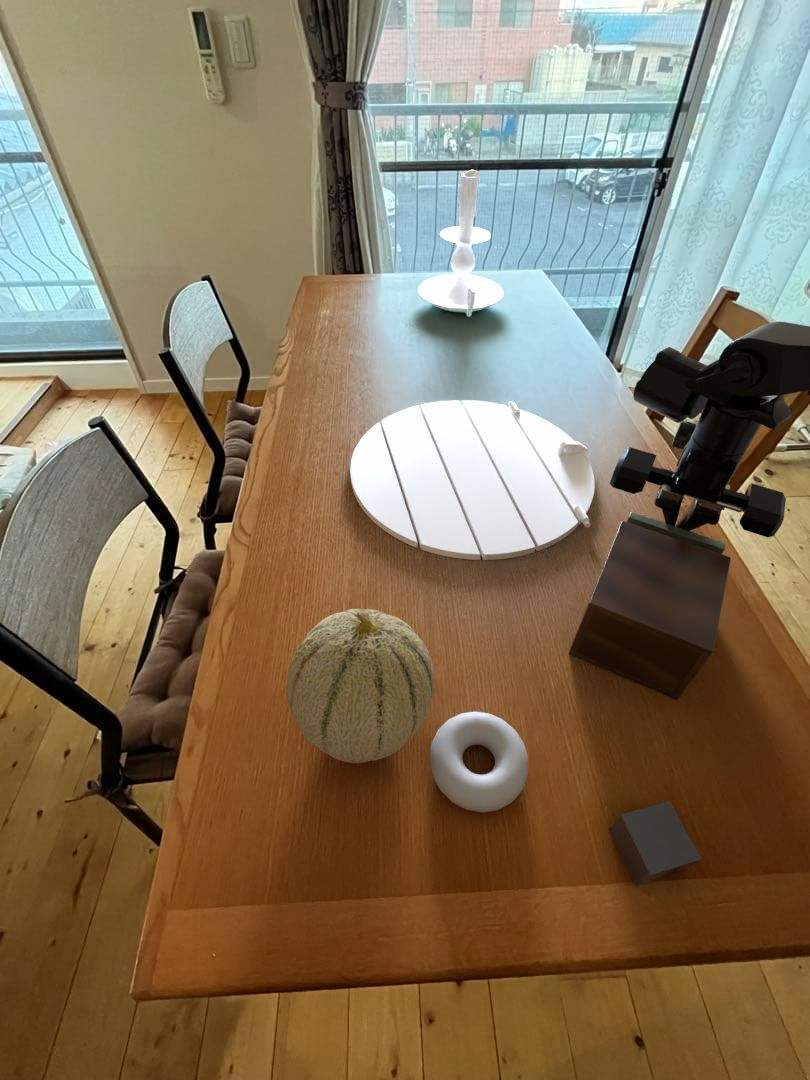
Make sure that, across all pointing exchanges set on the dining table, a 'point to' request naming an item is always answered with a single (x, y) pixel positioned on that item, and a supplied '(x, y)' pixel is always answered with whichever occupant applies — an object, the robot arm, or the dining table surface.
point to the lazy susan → (472, 479)
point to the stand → (653, 843)
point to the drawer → (676, 533)
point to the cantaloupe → (360, 685)
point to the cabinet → (653, 610)
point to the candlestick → (463, 261)
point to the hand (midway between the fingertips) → (669, 538)
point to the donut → (467, 785)
